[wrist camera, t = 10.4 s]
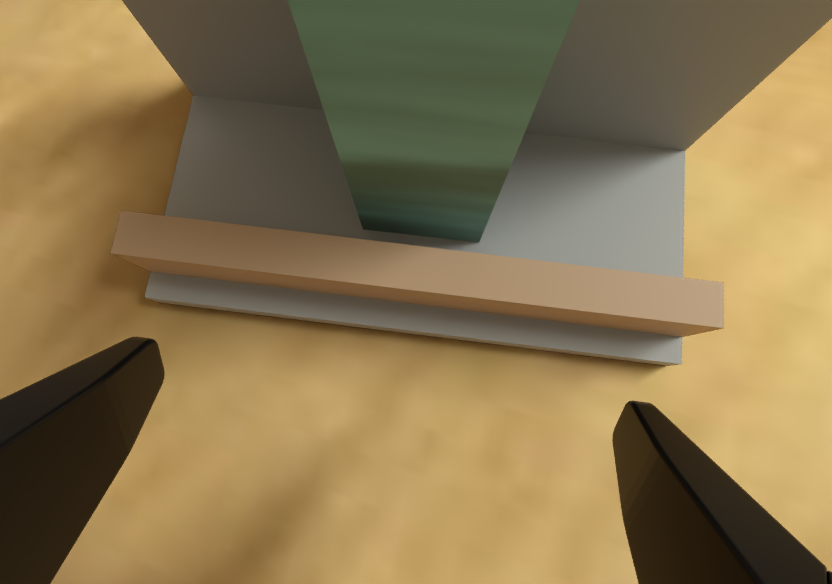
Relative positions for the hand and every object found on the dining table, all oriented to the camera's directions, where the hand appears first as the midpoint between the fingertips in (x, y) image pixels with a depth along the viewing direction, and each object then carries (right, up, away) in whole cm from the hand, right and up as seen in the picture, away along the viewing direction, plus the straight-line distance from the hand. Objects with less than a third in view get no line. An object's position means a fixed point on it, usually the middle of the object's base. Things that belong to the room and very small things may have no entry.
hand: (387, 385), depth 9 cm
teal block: (+1, +6, +10) cm, 12 cm away
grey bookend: (+1, +6, +11) cm, 12 cm away
